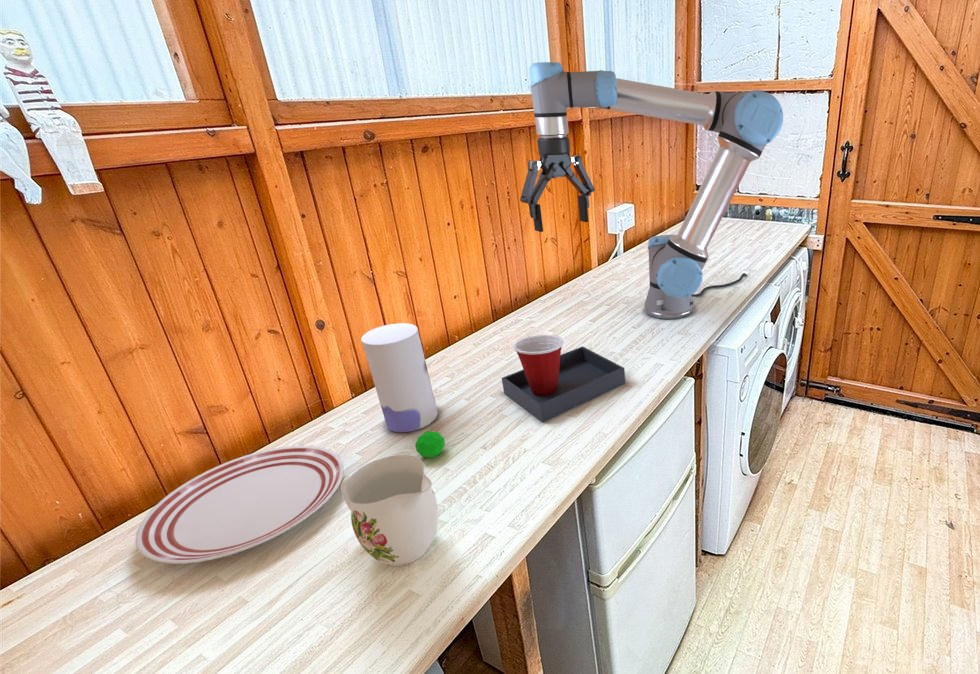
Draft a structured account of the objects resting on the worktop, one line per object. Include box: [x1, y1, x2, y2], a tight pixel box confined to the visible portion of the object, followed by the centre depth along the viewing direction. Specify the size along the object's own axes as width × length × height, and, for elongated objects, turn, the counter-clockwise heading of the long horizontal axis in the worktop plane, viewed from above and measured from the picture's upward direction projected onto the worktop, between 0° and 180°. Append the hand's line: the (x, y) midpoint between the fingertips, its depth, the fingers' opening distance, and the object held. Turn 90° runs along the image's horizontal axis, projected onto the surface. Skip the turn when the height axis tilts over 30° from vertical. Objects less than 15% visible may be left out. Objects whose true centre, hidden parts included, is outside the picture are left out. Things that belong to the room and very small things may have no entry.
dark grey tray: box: [501, 346, 626, 423], centre depth 117 cm, size 22×16×4 cm
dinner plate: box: [135, 445, 345, 565], centre depth 85 cm, size 28×27×3 cm
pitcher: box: [340, 454, 439, 567], centre depth 75 cm, size 11×18×14 cm, turn 68°
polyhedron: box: [414, 430, 446, 459], centre depth 97 cm, size 5×5×5 cm
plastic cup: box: [512, 334, 565, 396], centre depth 114 cm, size 11×11×12 cm
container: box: [360, 322, 439, 433], centre depth 105 cm, size 10×10×20 cm
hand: (562, 226), depth 131 cm, fingers open, 13 cm apart
